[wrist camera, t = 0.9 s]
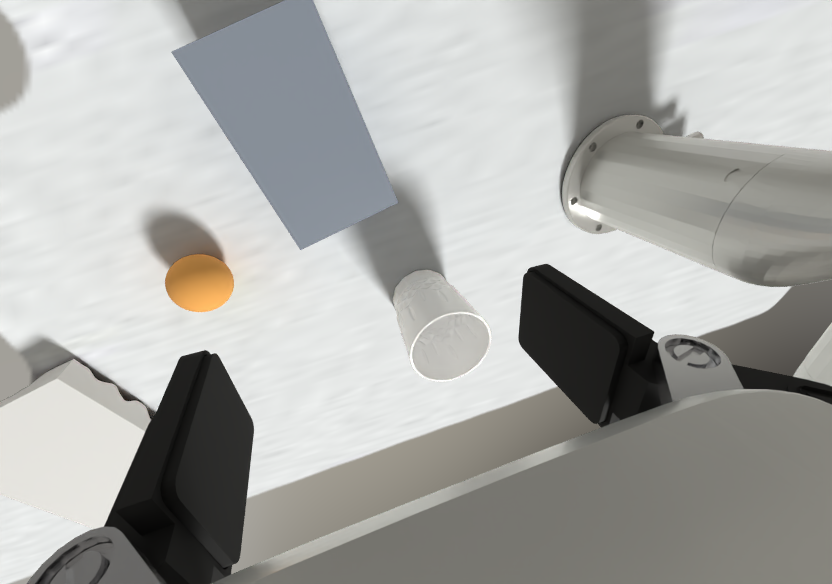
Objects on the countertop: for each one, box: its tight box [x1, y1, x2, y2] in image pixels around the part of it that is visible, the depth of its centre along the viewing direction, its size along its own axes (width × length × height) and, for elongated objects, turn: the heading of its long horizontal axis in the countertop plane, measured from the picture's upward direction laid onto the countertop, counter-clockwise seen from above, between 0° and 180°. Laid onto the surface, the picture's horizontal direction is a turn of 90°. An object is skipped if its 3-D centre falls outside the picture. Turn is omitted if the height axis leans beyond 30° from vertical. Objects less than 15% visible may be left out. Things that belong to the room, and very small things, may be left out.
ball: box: [165, 254, 234, 312], centre depth 29 cm, size 5×5×5 cm
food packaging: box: [0, 359, 151, 529], centre depth 36 cm, size 15×3×20 cm
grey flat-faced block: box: [172, 0, 398, 250], centre depth 24 cm, size 8×12×9 cm, turn 22°
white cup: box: [393, 270, 491, 381], centre depth 35 cm, size 8×8×10 cm
